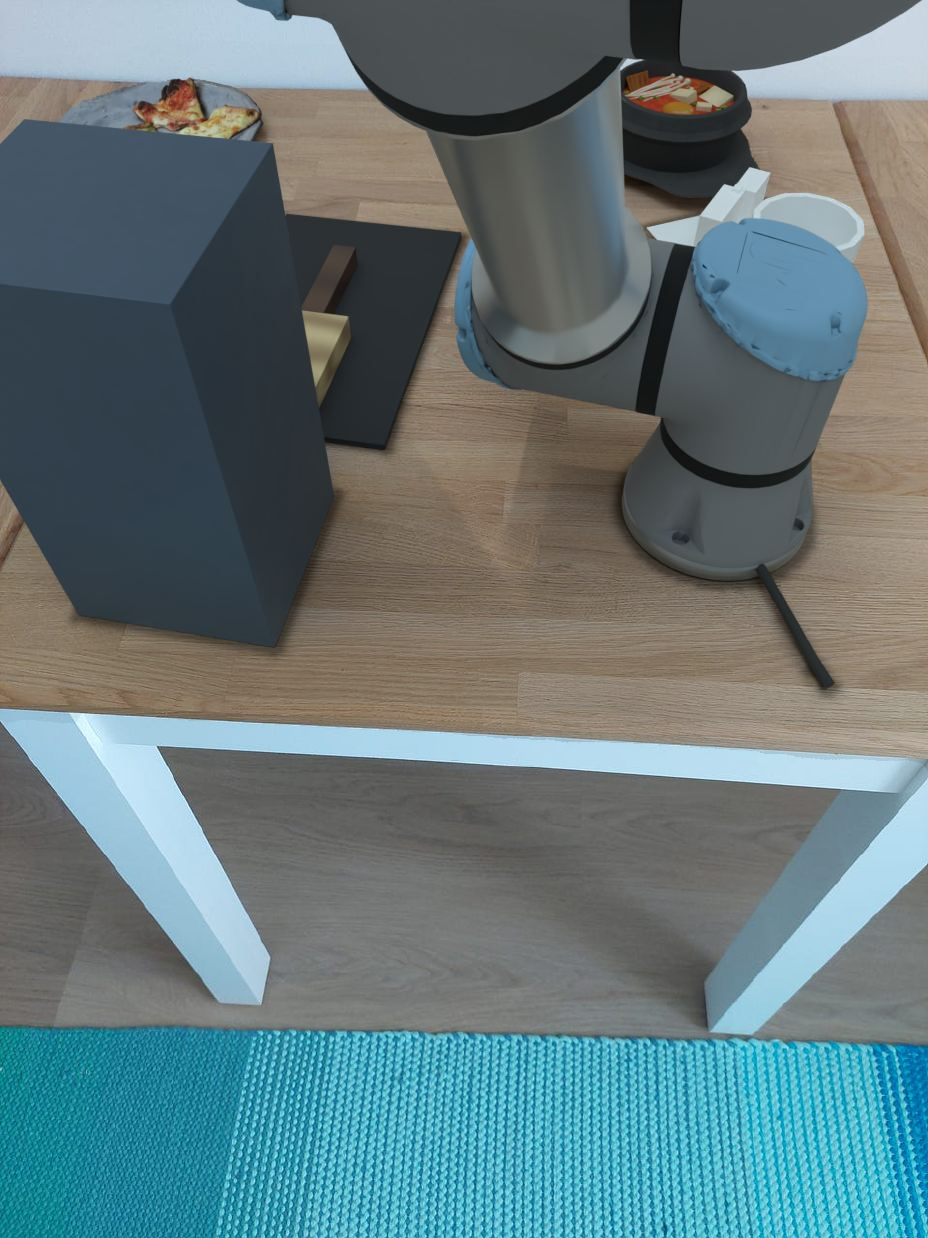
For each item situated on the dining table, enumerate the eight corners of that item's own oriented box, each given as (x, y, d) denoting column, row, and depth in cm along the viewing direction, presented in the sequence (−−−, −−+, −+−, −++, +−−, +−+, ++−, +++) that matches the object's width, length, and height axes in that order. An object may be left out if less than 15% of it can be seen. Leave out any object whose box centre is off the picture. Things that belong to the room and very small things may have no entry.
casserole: (549, 128, 116) (554, 55, 109) (676, 97, 121) (688, 25, 114) (656, 229, 103) (669, 154, 96) (794, 190, 107) (816, 115, 100)
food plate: (208, 78, 125) (202, 49, 122) (300, 147, 114) (295, 118, 111) (30, 136, 116) (19, 107, 113) (110, 217, 105) (100, 187, 102)
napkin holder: (696, 284, 97) (707, 233, 92) (644, 227, 103) (652, 177, 98) (819, 253, 100) (836, 202, 95) (761, 199, 106) (775, 149, 101)
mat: (287, 218, 105) (286, 213, 104) (461, 236, 102) (461, 231, 102) (172, 420, 85) (170, 415, 84) (384, 450, 83) (384, 445, 82)
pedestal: (158, 470, 81) (24, 118, 57) (334, 495, 79) (273, 142, 55) (77, 614, 72) (-123, 268, 48) (275, 647, 70) (170, 303, 46)
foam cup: (819, 384, 87) (866, 258, 77) (719, 372, 88) (752, 246, 78) (817, 322, 93) (861, 197, 82) (723, 311, 94) (754, 187, 83)
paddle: (310, 258, 99) (307, 236, 97) (383, 267, 98) (381, 245, 96) (230, 407, 85) (224, 386, 83) (314, 419, 84) (310, 398, 82)
